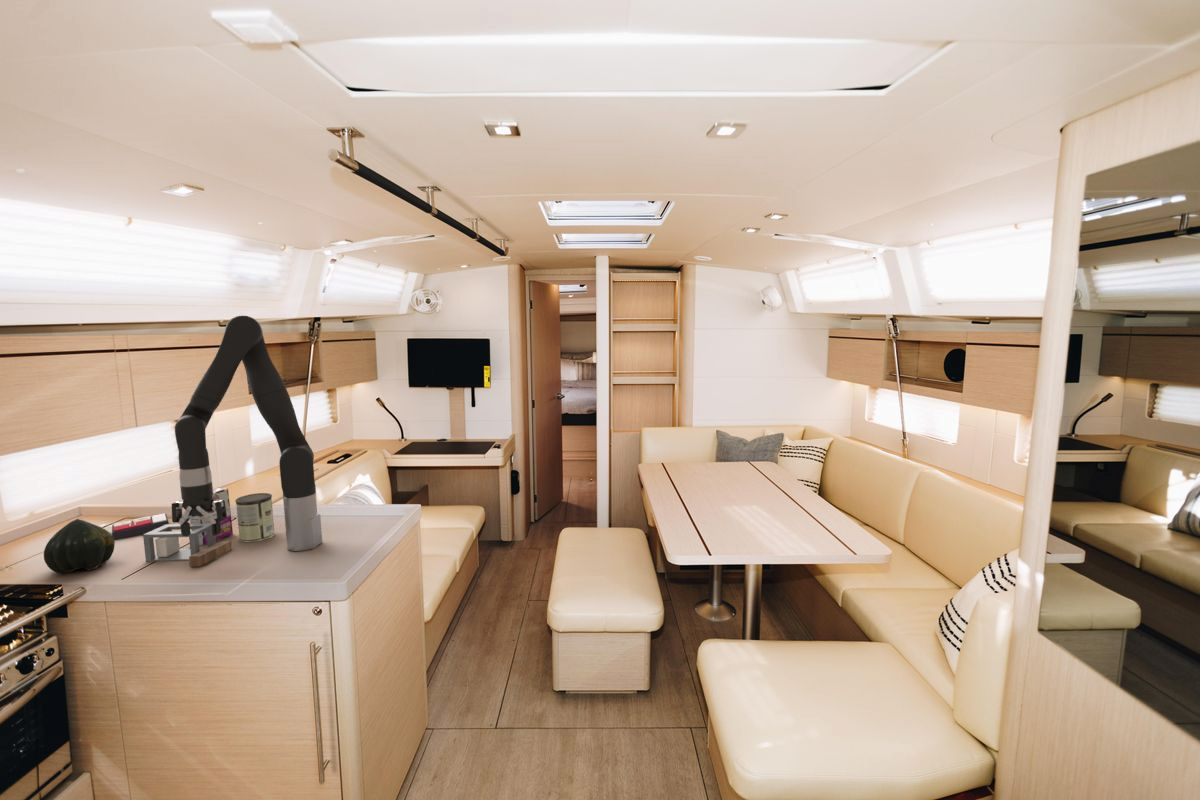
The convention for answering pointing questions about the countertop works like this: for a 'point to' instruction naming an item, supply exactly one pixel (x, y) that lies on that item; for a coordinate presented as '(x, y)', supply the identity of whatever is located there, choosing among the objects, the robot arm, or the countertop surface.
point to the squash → (78, 547)
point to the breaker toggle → (167, 546)
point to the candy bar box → (225, 524)
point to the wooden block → (209, 553)
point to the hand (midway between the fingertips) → (201, 535)
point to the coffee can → (255, 517)
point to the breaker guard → (167, 532)
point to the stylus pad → (209, 562)
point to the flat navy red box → (138, 526)
